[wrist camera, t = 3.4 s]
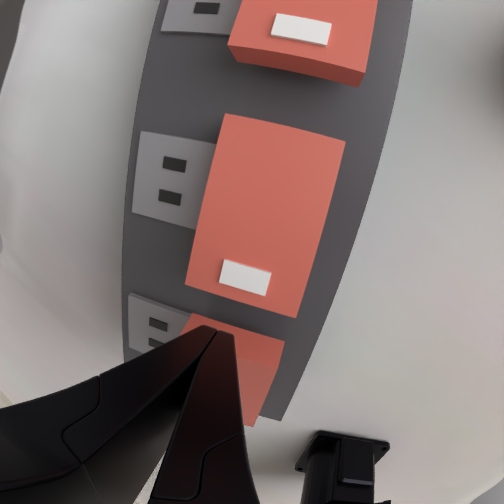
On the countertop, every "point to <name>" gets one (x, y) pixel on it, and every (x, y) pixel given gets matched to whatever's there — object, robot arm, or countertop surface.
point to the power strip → (200, 160)
